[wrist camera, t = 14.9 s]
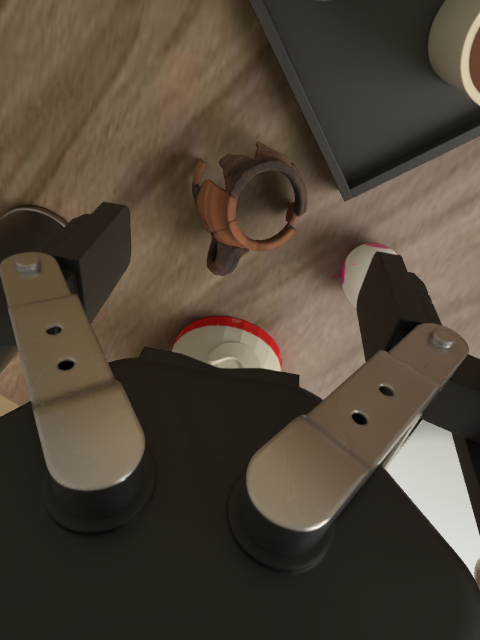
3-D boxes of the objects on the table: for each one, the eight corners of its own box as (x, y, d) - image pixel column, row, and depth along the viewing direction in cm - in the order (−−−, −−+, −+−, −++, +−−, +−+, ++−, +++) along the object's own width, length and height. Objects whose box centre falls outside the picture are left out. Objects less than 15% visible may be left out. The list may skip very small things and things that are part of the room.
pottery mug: (196, 121, 35) (231, 135, 29) (287, 148, 39) (335, 166, 33) (167, 252, 40) (192, 289, 34) (251, 263, 44) (287, 298, 38)
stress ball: (341, 225, 42) (304, 260, 39) (418, 224, 36) (381, 265, 33) (357, 285, 46) (325, 321, 43) (429, 292, 40) (397, 335, 37)
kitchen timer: (258, 406, 57) (245, 513, 46) (164, 376, 56) (126, 477, 44) (299, 339, 48) (296, 449, 37) (188, 300, 47) (149, 403, 35)
